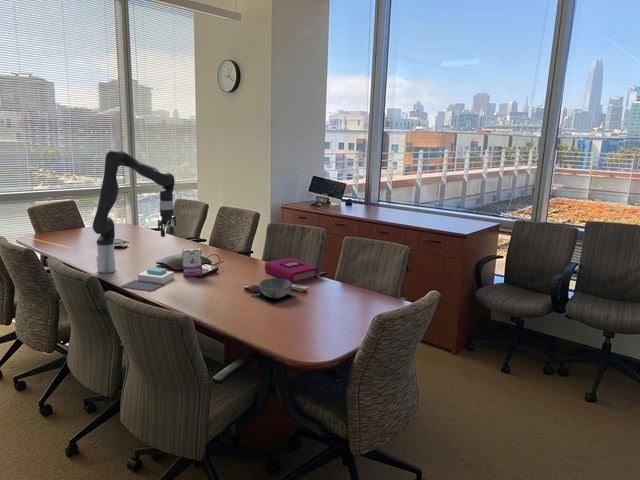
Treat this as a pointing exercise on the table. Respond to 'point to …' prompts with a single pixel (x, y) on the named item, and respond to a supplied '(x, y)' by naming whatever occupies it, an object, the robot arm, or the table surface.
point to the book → (291, 270)
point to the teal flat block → (156, 271)
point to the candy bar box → (192, 262)
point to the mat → (142, 285)
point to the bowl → (275, 287)
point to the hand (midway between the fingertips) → (167, 235)
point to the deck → (156, 277)
